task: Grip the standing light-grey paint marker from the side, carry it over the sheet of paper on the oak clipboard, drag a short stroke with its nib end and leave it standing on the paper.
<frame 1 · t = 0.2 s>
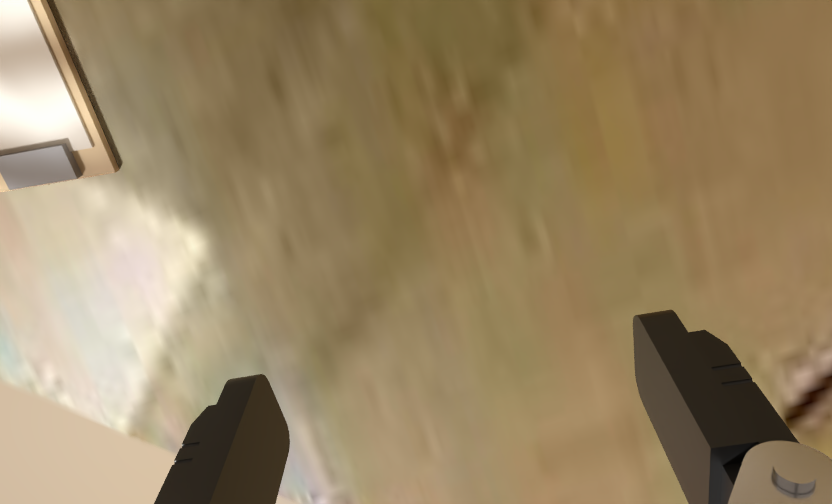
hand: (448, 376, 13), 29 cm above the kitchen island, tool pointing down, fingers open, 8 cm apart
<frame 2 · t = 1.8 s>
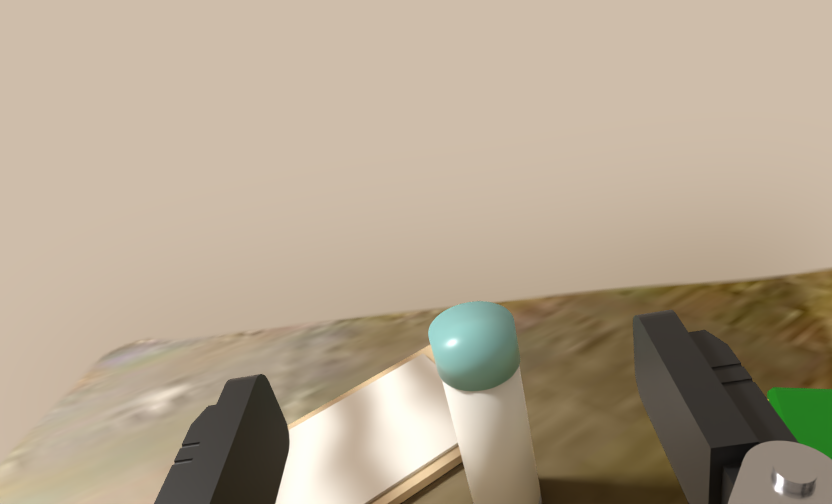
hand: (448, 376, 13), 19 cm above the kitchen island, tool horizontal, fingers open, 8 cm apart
clipboard: (355, 455, 37), on the kitchen island
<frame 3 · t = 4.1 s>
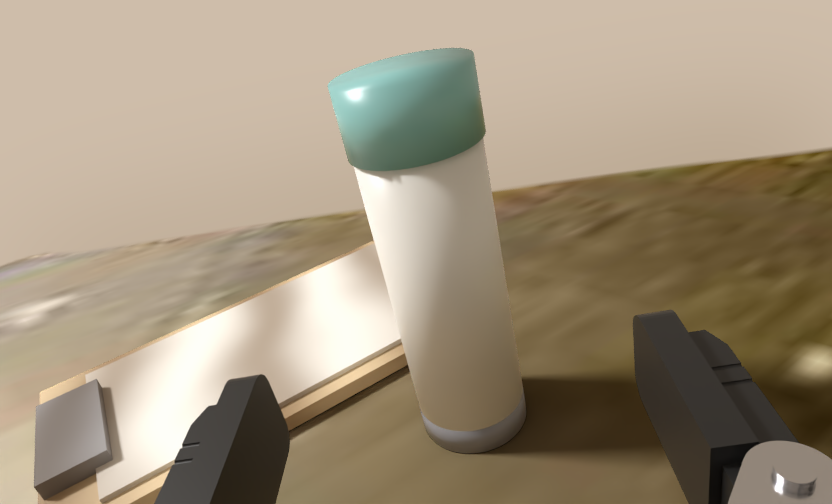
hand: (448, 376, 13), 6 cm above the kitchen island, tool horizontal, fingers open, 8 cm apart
marker: (474, 412, 21), on the kitchen island
clipboard: (264, 360, 26), on the kitchen island
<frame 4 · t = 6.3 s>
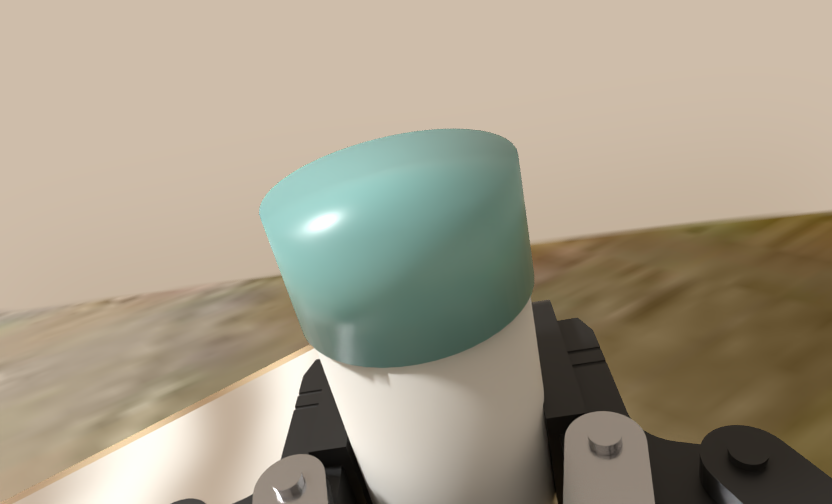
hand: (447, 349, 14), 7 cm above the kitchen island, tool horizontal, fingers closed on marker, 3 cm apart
clipboard: (215, 503, 20), on the kitchen island
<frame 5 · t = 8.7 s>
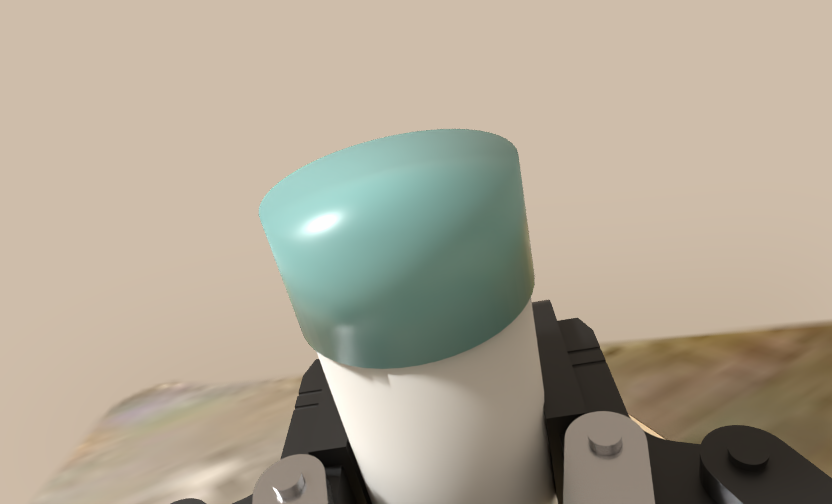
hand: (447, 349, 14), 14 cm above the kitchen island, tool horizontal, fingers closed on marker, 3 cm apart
when the fingers open (8 cm above the kitchen island, at t = 11.2 s): marker stays where it is, resting on clipboard.
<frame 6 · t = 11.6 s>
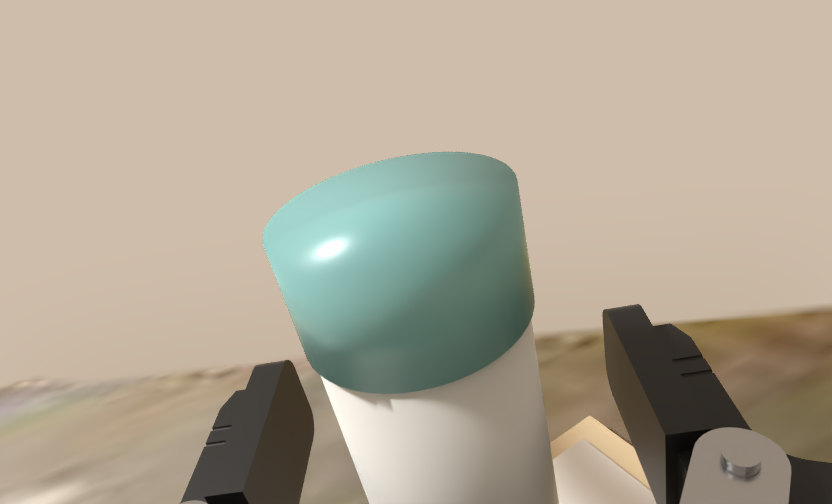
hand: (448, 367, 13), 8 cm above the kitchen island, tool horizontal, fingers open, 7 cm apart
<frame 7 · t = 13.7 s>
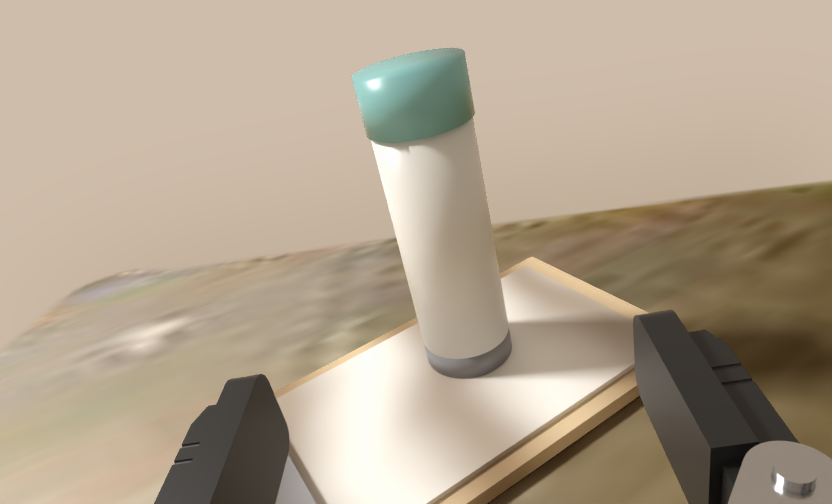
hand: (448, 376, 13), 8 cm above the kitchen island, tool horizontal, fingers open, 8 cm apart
marker: (469, 349, 25), point 1 cm above the kitchen island, touching clipboard
clipboard: (446, 398, 24), on the kitchen island
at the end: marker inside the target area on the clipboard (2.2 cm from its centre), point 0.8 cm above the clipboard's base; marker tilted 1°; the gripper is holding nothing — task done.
